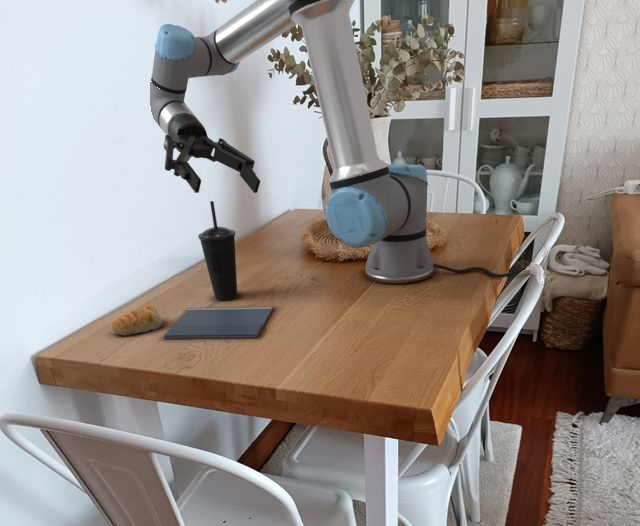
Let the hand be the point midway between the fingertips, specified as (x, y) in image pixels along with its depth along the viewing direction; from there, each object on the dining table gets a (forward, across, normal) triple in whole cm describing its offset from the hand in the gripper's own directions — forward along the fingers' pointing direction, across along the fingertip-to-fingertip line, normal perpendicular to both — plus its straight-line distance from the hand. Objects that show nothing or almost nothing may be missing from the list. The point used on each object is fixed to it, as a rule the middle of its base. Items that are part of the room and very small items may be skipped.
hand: (228, 186), depth 124 cm
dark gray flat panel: (+21, +9, -16) cm, 28 cm away
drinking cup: (+10, 0, -21) cm, 23 cm away
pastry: (+13, +21, -23) cm, 34 cm away
